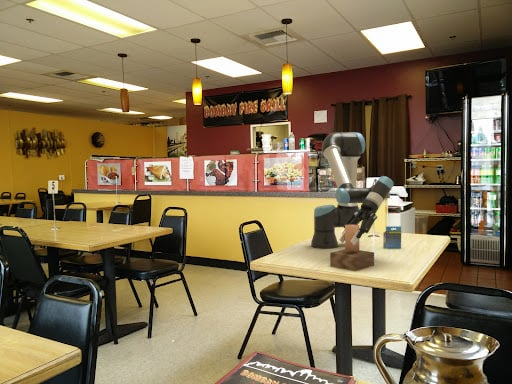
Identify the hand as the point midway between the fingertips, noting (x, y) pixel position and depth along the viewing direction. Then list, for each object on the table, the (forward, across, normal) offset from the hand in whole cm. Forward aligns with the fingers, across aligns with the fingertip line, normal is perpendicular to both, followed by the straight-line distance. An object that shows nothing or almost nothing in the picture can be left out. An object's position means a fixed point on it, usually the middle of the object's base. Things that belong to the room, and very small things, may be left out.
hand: (346, 242), depth 186 cm
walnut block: (+5, 0, -10) cm, 12 cm away
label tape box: (-30, +18, -46) cm, 57 cm away
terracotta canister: (0, 0, -5) cm, 5 cm away
